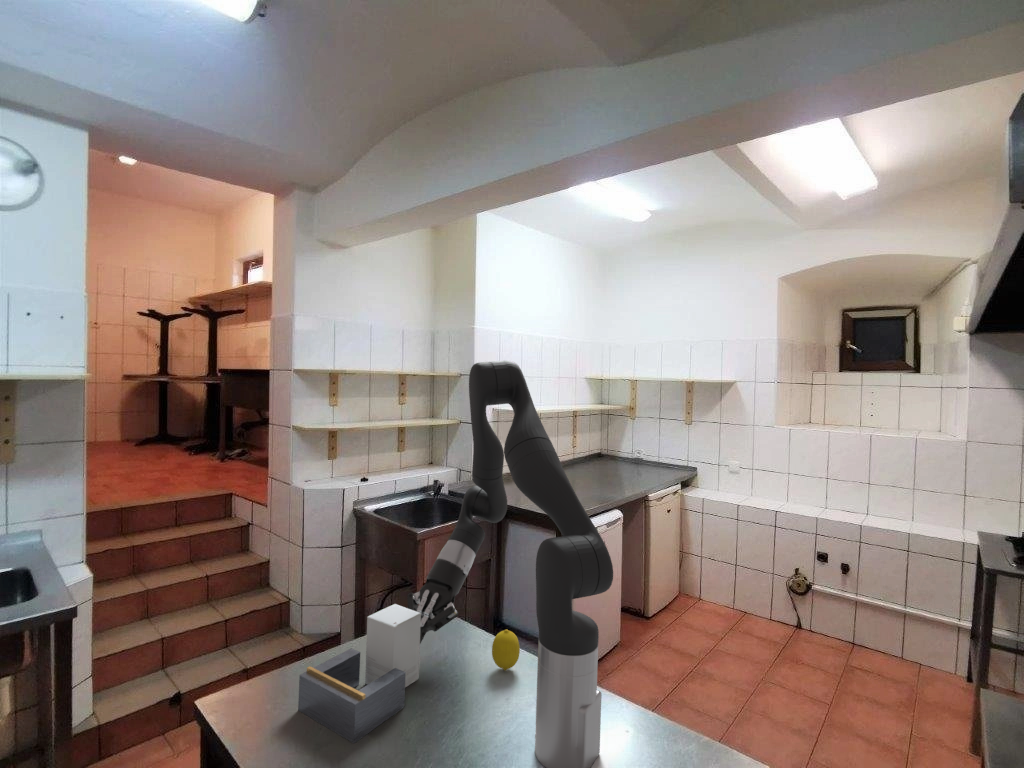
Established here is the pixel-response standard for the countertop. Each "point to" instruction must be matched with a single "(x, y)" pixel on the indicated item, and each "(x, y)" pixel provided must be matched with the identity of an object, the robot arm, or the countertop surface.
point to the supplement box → (393, 643)
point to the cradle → (349, 696)
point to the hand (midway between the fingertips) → (410, 647)
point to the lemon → (505, 649)
